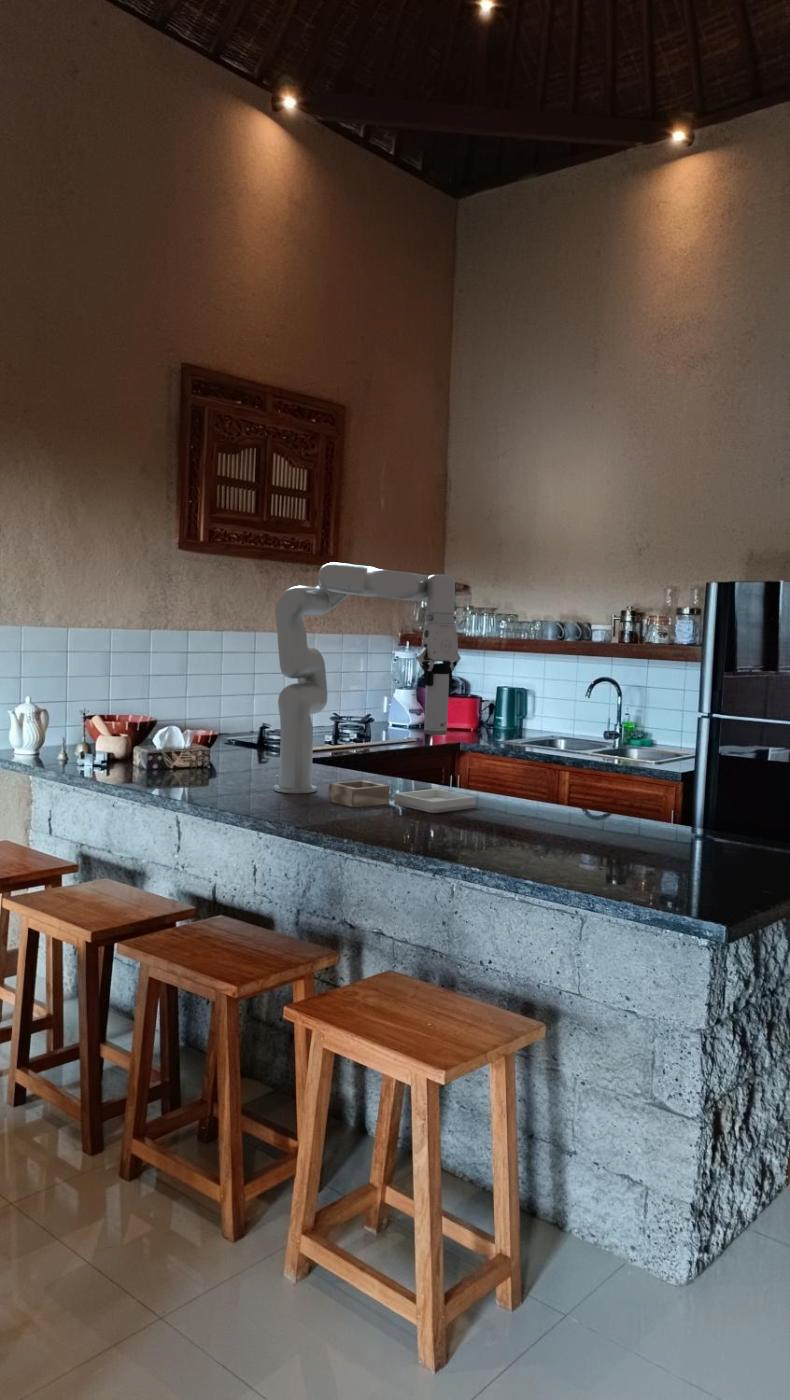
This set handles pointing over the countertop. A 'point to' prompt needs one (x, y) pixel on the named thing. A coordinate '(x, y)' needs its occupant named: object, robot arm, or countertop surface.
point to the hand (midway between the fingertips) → (437, 684)
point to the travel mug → (437, 701)
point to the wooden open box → (358, 793)
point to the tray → (434, 800)
